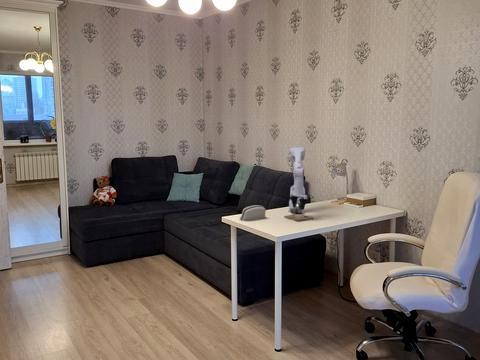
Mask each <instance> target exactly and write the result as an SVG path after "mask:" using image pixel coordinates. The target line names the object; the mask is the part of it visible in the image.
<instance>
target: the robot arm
mask: <svg viewBox="0 0 480 360" xmlns="http://www.w3.org/2000/svg"><path fill="white" fill-rule="evenodd" d="M289 152H290V153H289V154H290V155H289V156H290V160H291V161H292V162H293V180H294V181H293V185H292V186H290V193H289V194H290V195H289V201H288V209H289V210H288V212H290V209H291V208H295V204H296V203H300V207H301V210H302V212H304V213H306V211H304V210H305V206H306V204H307V202H308V199H309V198H308V195H307V194H306V189H305V187H304V177H305V168H304V163H303V161H304V160H305V158H306V148H305V147H304V146H303V147H300V146H299V147H298V146H297V147H290V151H289ZM290 213H291V212H290Z"/></svg>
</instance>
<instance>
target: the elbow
mask: <svg viewBox="0 0 480 360" xmlns="http://www.w3.org/2000/svg"><path fill="white" fill-rule="evenodd" d="M290 213H291V214H292V213H295V214H302V210H301V207H300V203H296V204H295V208H291V209H290Z"/></svg>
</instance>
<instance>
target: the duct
mask: <svg viewBox="0 0 480 360" xmlns="http://www.w3.org/2000/svg"><path fill="white" fill-rule="evenodd" d="M283 217H284V219H287V220H290V221H293V222H298V223H300V222H306V221H312V220H314V217H312V216H307V215H306V212H302V214H295V213H291V214H290V215H289V214H288V215H284V216H283Z"/></svg>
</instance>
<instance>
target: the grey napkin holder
mask: <svg viewBox="0 0 480 360" xmlns="http://www.w3.org/2000/svg"><path fill="white" fill-rule="evenodd" d="M265 218H266V208H265V207H264V206H263V205H258V204H257V205H250V206H246V207H244V208H243V209H242V212H241V215H240V216H239V220H240V219H241V221H242V222H247V221H253V219H254V220H259V219H265ZM246 220H247V221H246Z"/></svg>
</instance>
